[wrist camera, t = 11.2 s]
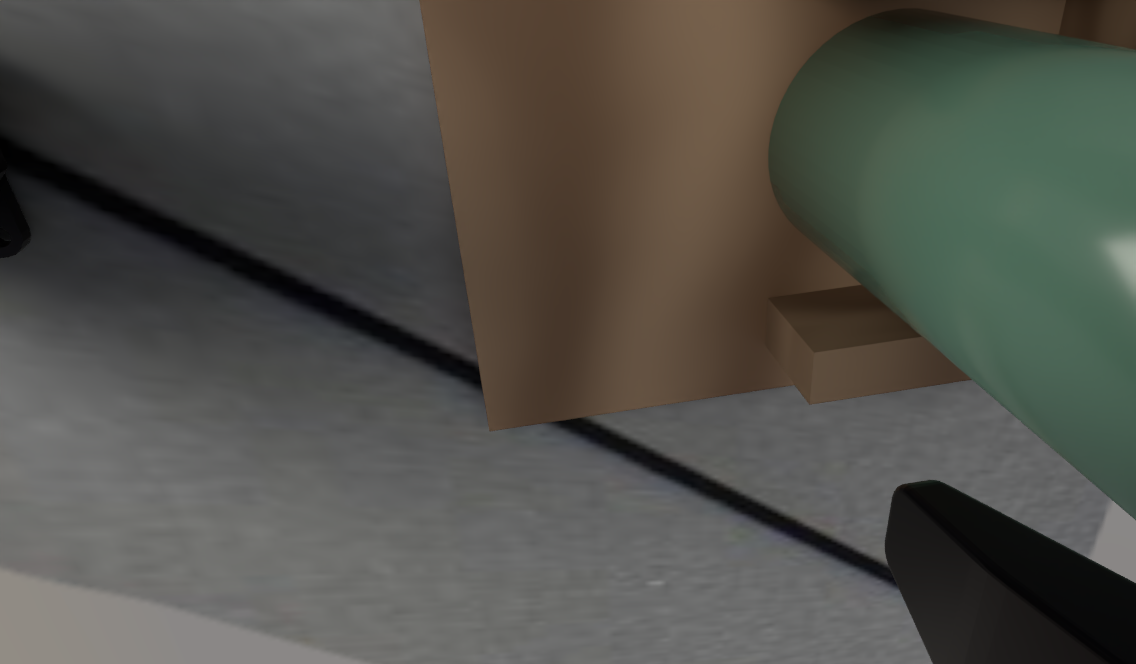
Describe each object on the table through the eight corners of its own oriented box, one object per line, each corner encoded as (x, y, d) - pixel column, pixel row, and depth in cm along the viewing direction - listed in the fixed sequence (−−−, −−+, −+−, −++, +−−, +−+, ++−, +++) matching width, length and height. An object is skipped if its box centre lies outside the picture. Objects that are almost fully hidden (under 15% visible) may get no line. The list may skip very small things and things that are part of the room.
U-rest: (487, 415, 22) (495, 502, 19) (396, -150, 16) (384, -167, 12) (1049, 331, 24) (1146, 398, 21) (1189, -218, 17) (1369, -250, 14)
